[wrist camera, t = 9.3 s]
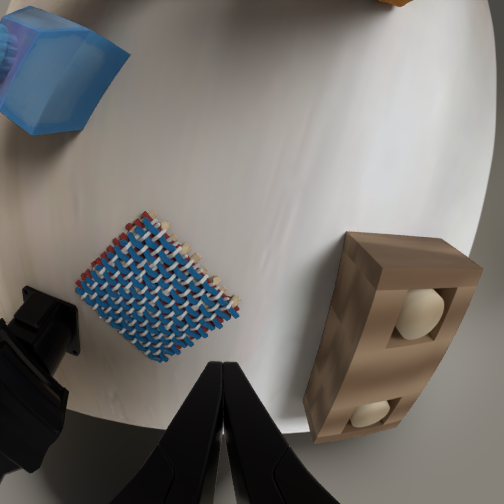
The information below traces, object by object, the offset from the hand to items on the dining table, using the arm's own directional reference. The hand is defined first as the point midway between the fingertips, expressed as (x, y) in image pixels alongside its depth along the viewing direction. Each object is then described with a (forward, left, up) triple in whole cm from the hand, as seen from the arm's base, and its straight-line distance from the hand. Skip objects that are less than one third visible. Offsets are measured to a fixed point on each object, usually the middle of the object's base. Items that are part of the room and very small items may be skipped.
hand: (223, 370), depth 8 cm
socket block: (-6, -16, -13) cm, 21 cm away
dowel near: (0, -14, -13) cm, 19 cm away
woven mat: (-7, +4, -14) cm, 16 cm away
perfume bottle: (+8, +14, -13) cm, 21 cm away
